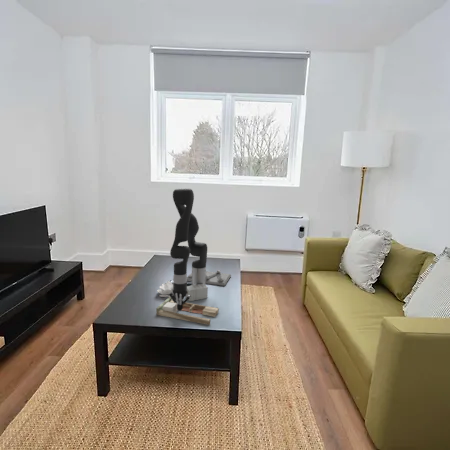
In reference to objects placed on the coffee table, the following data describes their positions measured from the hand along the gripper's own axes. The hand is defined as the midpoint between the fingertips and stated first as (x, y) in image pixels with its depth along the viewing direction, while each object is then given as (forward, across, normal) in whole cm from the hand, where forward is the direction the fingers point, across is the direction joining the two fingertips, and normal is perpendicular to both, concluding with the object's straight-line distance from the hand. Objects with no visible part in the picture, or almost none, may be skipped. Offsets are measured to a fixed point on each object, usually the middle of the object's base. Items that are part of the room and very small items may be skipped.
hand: (179, 309), depth 178 cm
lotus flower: (+3, +18, -21) cm, 28 cm away
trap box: (+2, -4, 0) cm, 4 cm away
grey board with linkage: (+3, +5, -58) cm, 58 cm away
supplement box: (-1, +5, -19) cm, 20 cm away
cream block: (+3, +6, +1) cm, 6 cm away
